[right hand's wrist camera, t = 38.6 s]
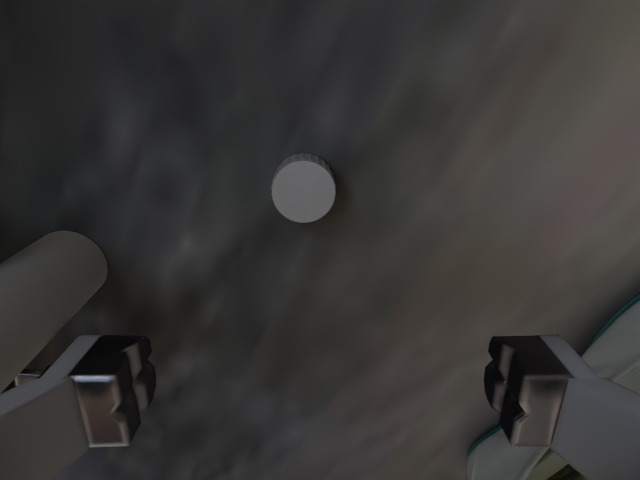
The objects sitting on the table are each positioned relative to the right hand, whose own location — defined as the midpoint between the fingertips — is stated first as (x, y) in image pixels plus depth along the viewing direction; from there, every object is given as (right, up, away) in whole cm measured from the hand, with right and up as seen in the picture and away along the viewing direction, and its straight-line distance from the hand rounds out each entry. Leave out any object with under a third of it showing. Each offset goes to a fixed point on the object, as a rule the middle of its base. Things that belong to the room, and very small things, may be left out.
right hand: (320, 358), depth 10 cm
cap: (-1, +6, +15) cm, 16 cm away
